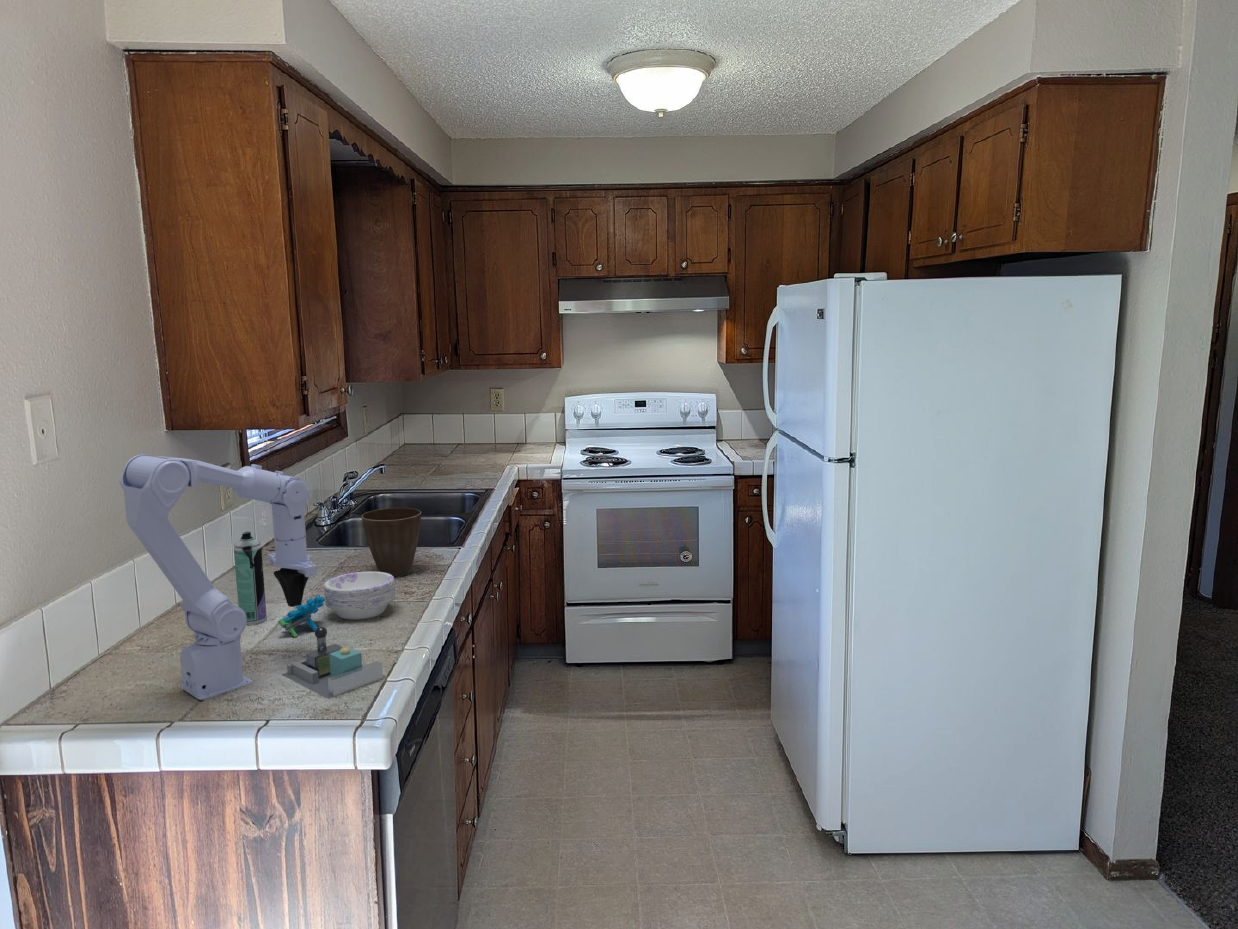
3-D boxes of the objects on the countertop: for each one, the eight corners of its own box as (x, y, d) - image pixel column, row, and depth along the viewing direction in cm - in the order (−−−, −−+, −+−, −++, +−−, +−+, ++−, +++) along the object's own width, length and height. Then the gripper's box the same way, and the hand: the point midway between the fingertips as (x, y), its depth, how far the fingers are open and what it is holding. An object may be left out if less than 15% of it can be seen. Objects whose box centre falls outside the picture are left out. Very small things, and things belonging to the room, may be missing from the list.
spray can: (271, 620, 185) (264, 532, 182) (246, 627, 181) (239, 536, 178) (260, 614, 189) (253, 528, 186) (235, 621, 185) (228, 532, 182)
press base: (328, 700, 146) (327, 682, 146) (281, 676, 156) (280, 659, 156) (387, 678, 155) (386, 661, 155) (339, 656, 165) (338, 640, 165)
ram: (317, 678, 154) (314, 635, 152) (305, 672, 156) (302, 630, 155) (346, 668, 158) (343, 626, 157) (334, 663, 161) (331, 621, 160)
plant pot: (363, 584, 211) (359, 521, 208) (366, 567, 225) (363, 509, 223) (424, 579, 214) (421, 518, 212) (423, 563, 229) (421, 506, 226)
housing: (343, 688, 150) (341, 655, 149) (331, 682, 153) (329, 649, 152) (362, 681, 153) (361, 648, 152) (350, 675, 156) (348, 643, 155)
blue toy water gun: (312, 610, 187) (327, 587, 181) (328, 631, 186) (343, 608, 180) (268, 632, 178) (282, 608, 172) (284, 654, 177) (299, 630, 171)
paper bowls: (347, 600, 199) (345, 568, 197) (407, 604, 196) (406, 571, 194) (311, 622, 184) (309, 587, 183) (376, 627, 181) (374, 592, 180)
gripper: (329, 539, 160) (333, 607, 162) (290, 527, 169) (294, 592, 172) (294, 547, 155) (299, 617, 157) (256, 534, 164) (261, 601, 166)
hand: (294, 605), depth 164 cm, fingers closed
